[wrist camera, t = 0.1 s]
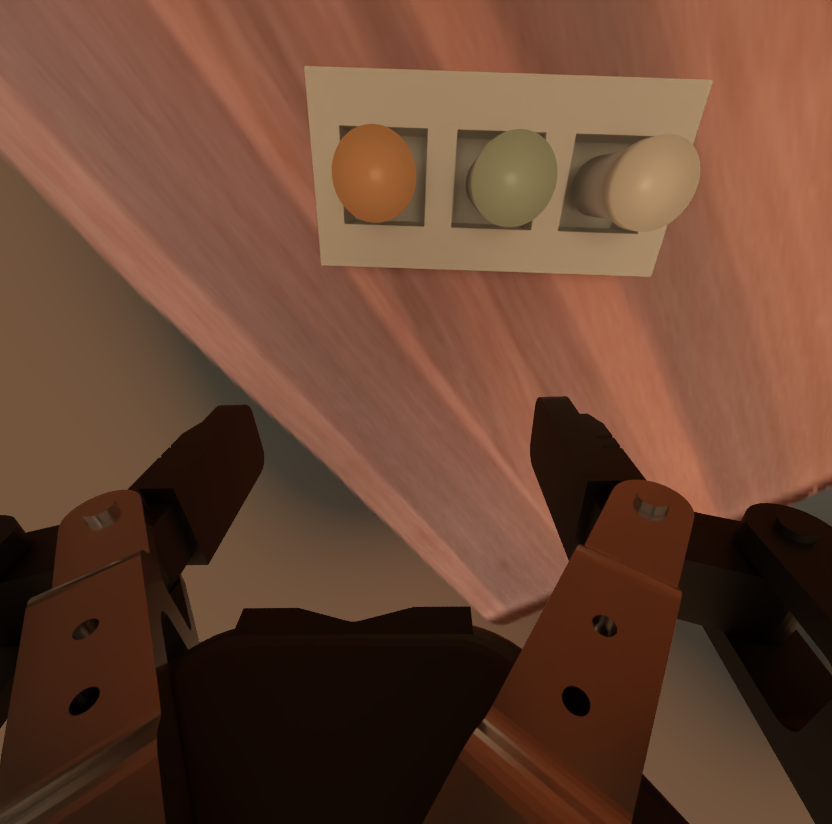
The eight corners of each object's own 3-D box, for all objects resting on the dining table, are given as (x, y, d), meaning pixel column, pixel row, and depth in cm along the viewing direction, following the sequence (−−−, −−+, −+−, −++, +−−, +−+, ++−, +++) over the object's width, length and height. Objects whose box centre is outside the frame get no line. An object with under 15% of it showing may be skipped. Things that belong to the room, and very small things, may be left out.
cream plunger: (574, 146, 28) (625, 132, 21) (640, 149, 28) (714, 135, 21) (560, 220, 30) (601, 230, 23) (621, 223, 30) (681, 233, 23)
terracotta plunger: (352, 139, 28) (328, 122, 21) (419, 141, 28) (417, 125, 21) (355, 213, 30) (334, 221, 23) (416, 216, 30) (414, 224, 23)
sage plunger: (463, 143, 28) (476, 127, 21) (530, 145, 28) (565, 130, 21) (457, 217, 30) (468, 225, 23) (519, 219, 30) (548, 228, 23)
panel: (325, 87, 30) (304, 65, 25) (662, 99, 30) (713, 80, 25) (336, 254, 36) (321, 265, 31) (618, 264, 36) (651, 276, 31)
